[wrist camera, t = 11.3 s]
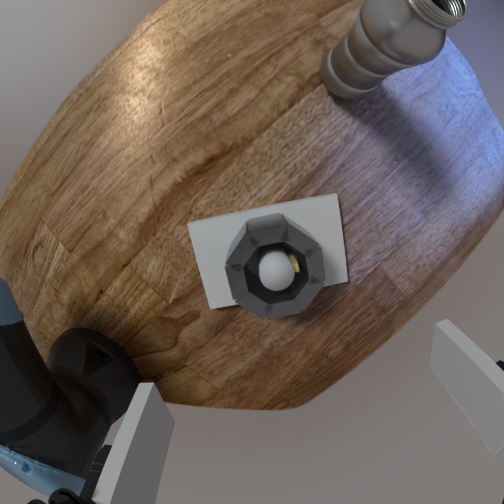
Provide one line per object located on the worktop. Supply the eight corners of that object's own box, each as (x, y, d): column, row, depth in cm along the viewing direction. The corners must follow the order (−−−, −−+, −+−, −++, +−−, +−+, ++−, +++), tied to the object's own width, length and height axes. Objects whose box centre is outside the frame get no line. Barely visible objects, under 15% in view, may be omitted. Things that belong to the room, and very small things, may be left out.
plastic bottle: (303, 78, 27) (371, -26, 8) (337, 42, 26) (418, -57, 6) (349, 115, 28) (467, 63, 9) (380, 78, 27) (494, 15, 8)
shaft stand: (211, 304, 34) (202, 338, 27) (189, 222, 31) (172, 237, 24) (344, 277, 33) (367, 305, 26) (333, 193, 31) (358, 200, 23)
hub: (241, 298, 33) (239, 324, 27) (223, 224, 30) (217, 237, 24) (315, 282, 32) (328, 306, 26) (303, 207, 30) (316, 216, 24)
